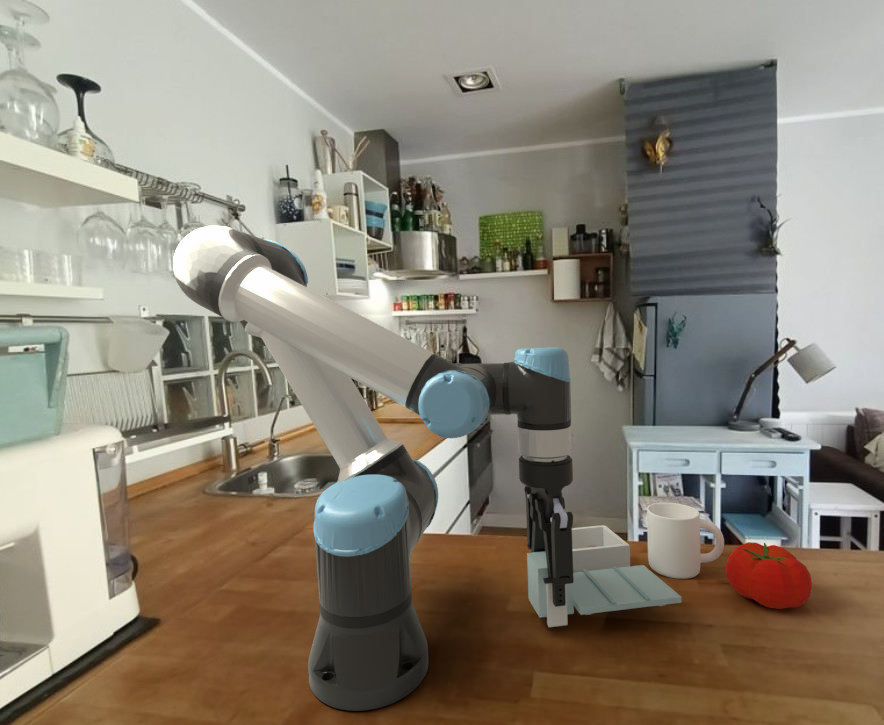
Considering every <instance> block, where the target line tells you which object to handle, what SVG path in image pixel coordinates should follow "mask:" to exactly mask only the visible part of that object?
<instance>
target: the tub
mask: <svg viewBox="0 0 884 725" xmlns="http://www.w3.org/2000/svg"><path fill="white" fill-rule="evenodd" d="M588 546H597V547H589V548H587V547H588ZM630 547H631V546H630V544H629V543H627V542H626V541H625V540H623V539H622V538H621V537H620V536H619V535H618V534H617V533H615V532H614V531H613V530H611V529H610V528H609V527H608V526H606V525H605V524H603V525H593V526H582V527H572V551H573V573H575V572H583V570H585V569H586V570H587V571H593V570H602V569H612V568H613V566H616V567H617V568H621V567H630V566H631V550H630Z"/></svg>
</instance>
